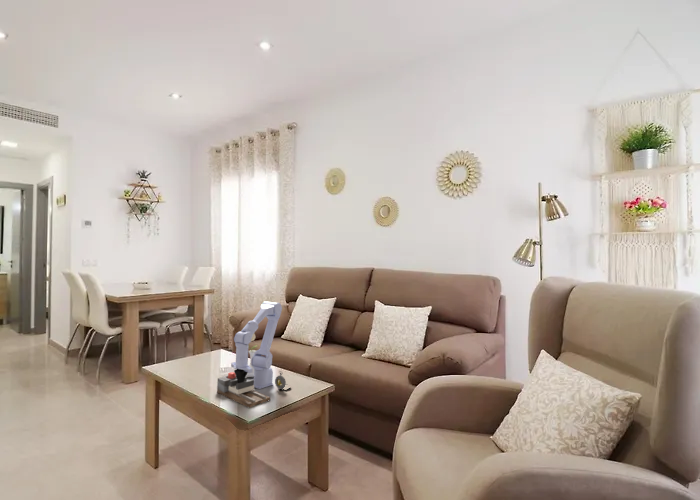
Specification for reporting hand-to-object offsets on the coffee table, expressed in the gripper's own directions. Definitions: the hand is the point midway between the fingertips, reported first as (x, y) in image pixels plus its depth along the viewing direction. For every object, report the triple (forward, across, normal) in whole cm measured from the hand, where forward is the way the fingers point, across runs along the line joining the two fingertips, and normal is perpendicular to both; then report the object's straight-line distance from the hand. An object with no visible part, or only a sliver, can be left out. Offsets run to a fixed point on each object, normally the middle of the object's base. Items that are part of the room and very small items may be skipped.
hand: (240, 384), depth 183 cm
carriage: (+2, +1, 0) cm, 3 cm away
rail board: (+5, +2, 0) cm, 6 cm away
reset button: (0, -8, 0) cm, 8 cm away
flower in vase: (+5, -21, +21) cm, 30 cm away
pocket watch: (+5, +8, +20) cm, 22 cm away
